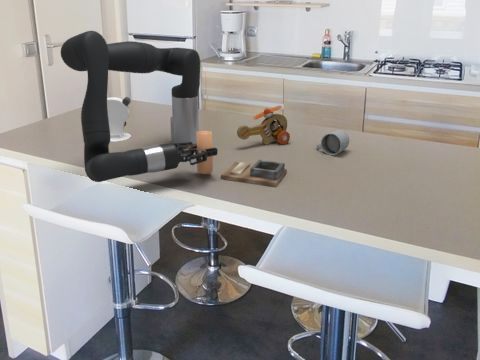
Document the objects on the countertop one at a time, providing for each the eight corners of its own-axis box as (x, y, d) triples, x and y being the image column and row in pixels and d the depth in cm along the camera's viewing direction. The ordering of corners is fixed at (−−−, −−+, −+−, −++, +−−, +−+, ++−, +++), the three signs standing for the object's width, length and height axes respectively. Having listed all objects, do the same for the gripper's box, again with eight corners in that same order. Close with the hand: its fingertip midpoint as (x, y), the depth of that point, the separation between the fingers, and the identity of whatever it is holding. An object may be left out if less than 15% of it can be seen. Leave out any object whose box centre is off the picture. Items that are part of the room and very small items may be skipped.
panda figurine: (134, 133, 186) (132, 94, 181) (129, 142, 176) (126, 101, 170) (103, 133, 186) (99, 94, 180) (96, 142, 175) (91, 101, 170)
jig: (220, 178, 144) (220, 167, 143) (234, 165, 155) (234, 154, 153) (275, 187, 139) (276, 175, 138) (286, 172, 149) (287, 161, 148)
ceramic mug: (350, 151, 169) (351, 129, 166) (340, 157, 163) (341, 135, 160) (322, 145, 175) (323, 125, 172) (311, 151, 169) (313, 130, 166)
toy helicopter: (292, 143, 177) (294, 106, 172) (244, 152, 166) (245, 113, 161) (278, 137, 183) (280, 101, 178) (231, 146, 173) (232, 108, 168)
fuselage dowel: (194, 172, 145) (193, 133, 140) (201, 167, 149) (200, 129, 144) (209, 174, 143) (208, 135, 139) (215, 169, 147) (214, 131, 143)
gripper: (168, 153, 130) (224, 143, 138) (149, 138, 141) (202, 130, 149) (169, 178, 133) (224, 167, 141) (150, 162, 144) (202, 153, 152)
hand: (212, 148), depth 145 cm, fingers closed on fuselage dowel, 4 cm apart
